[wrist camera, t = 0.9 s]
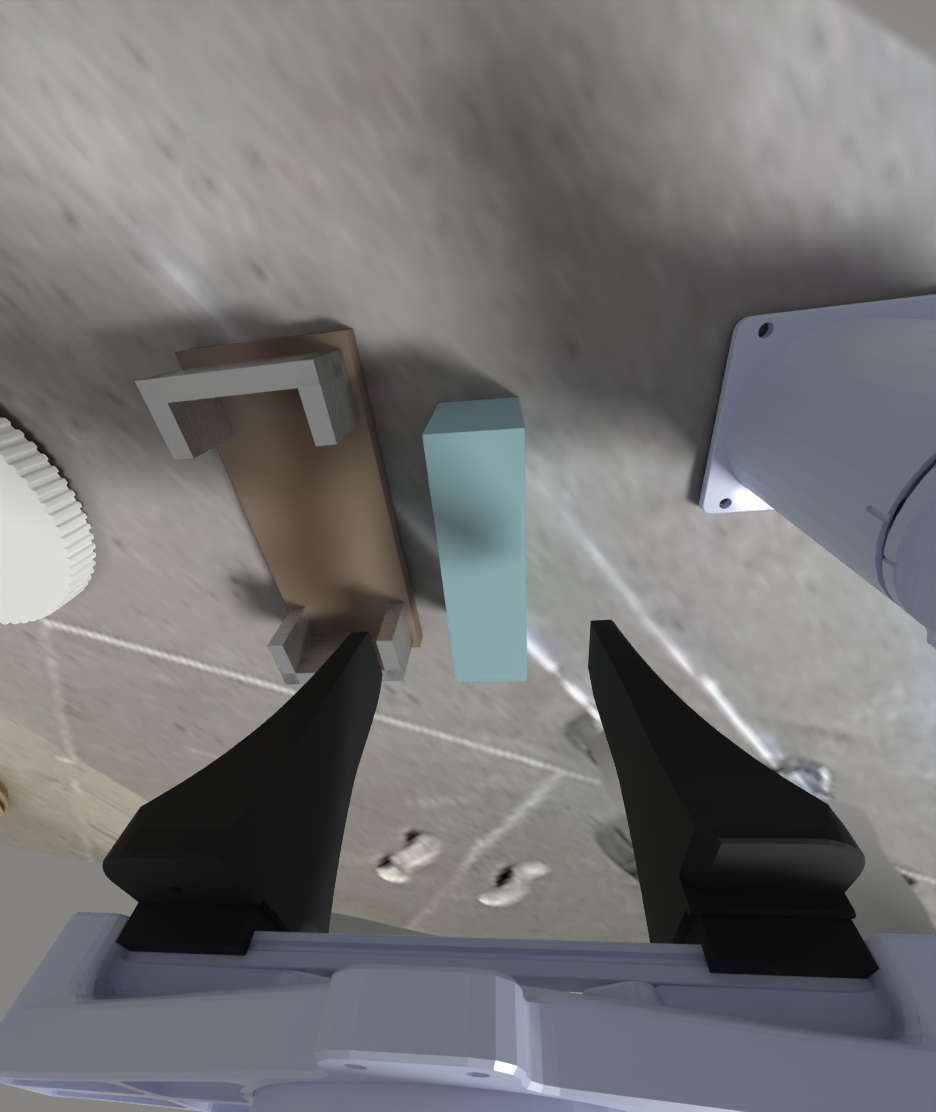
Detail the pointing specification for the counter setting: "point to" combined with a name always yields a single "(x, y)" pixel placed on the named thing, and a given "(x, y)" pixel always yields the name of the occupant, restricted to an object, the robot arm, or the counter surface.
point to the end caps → (323, 383)
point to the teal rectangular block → (481, 533)
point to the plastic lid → (38, 533)
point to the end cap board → (315, 494)
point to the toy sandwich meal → (3, 799)
